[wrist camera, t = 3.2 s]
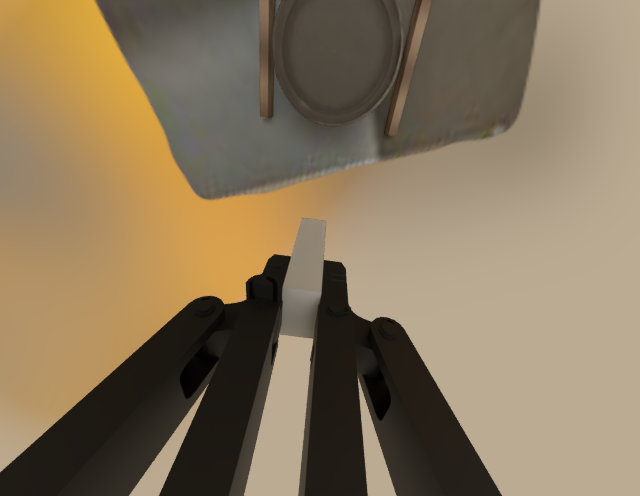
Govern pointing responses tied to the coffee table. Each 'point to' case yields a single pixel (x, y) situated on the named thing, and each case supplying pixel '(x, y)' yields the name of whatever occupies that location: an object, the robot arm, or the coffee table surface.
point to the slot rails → (403, 77)
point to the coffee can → (337, 56)
